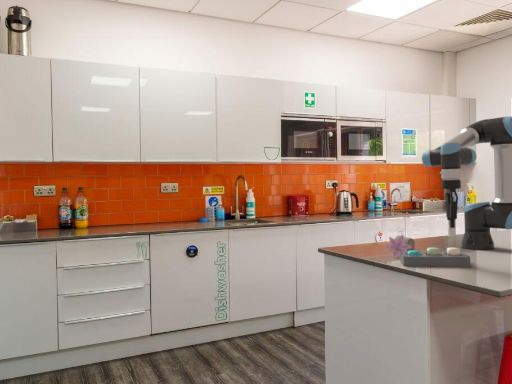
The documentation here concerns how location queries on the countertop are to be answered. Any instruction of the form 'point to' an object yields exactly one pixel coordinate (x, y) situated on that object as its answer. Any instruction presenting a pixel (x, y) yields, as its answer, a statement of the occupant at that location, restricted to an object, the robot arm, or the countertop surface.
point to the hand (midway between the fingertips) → (451, 235)
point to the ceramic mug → (408, 242)
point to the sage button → (433, 251)
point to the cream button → (453, 251)
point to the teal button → (413, 252)
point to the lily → (397, 246)
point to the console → (435, 260)
